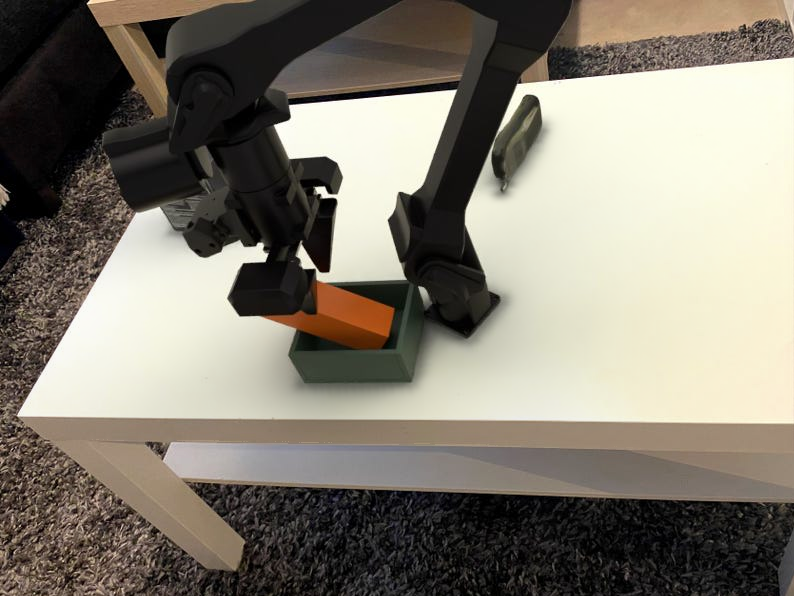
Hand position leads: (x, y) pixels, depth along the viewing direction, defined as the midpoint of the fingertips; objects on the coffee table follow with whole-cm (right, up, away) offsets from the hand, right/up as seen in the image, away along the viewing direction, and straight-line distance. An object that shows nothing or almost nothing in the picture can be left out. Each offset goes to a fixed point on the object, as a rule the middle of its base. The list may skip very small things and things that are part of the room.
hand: (319, 292), depth 75 cm
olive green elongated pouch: (+22, +20, +22) cm, 37 cm away
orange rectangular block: (+6, -4, +4) cm, 9 cm away
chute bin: (+4, -5, +7) cm, 9 cm away
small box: (-19, +12, +25) cm, 34 cm away
